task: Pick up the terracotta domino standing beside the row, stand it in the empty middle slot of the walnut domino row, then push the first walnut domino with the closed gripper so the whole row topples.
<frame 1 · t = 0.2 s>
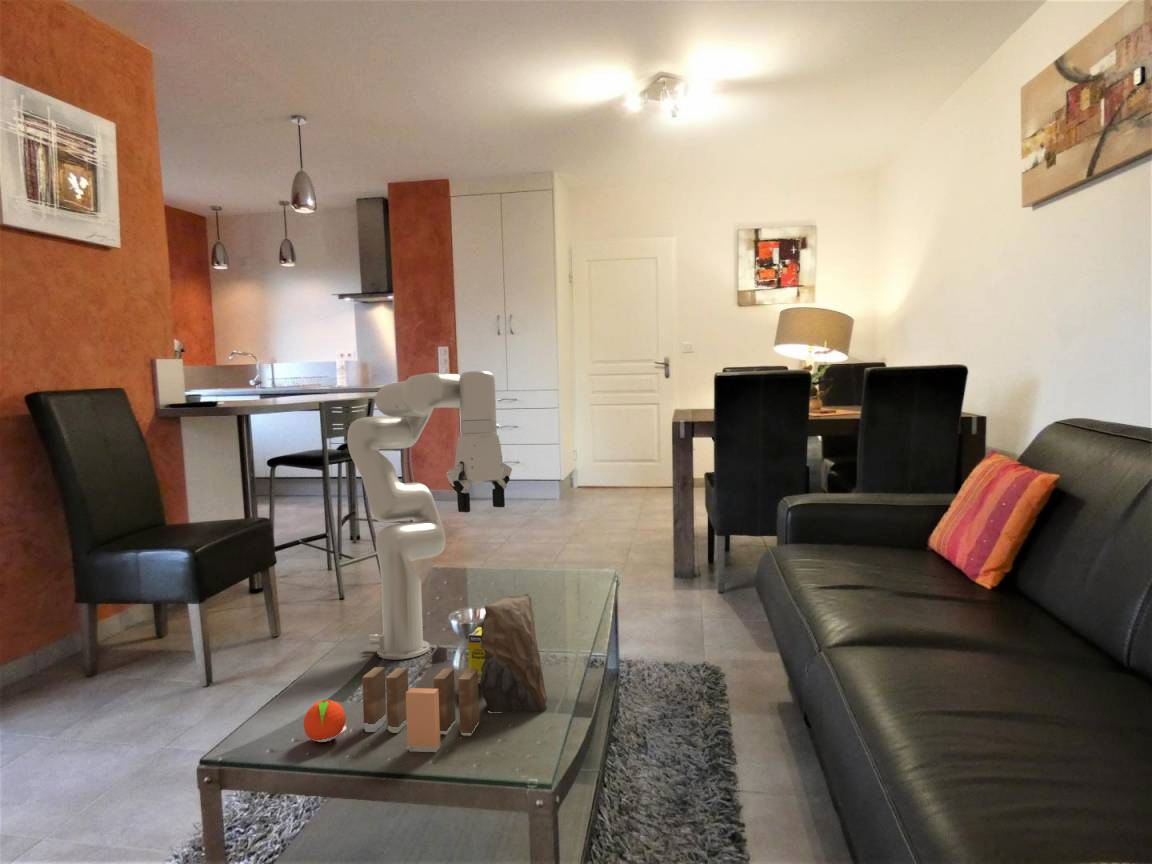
hand: (481, 509, 141), 37 cm above the table, tool pointing down, fingers open, 9 cm apart
domino 1: (375, 726, 122), on the table
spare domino: (424, 749, 112), on the table
domino 2: (398, 727, 121), on the table
domino 5: (470, 729, 119), on the table
supplement box: (487, 683, 142), on the table
brown rough lump: (518, 704, 130), on the table
clementine: (325, 743, 116), on the table
domino 4: (446, 728, 120), on the table
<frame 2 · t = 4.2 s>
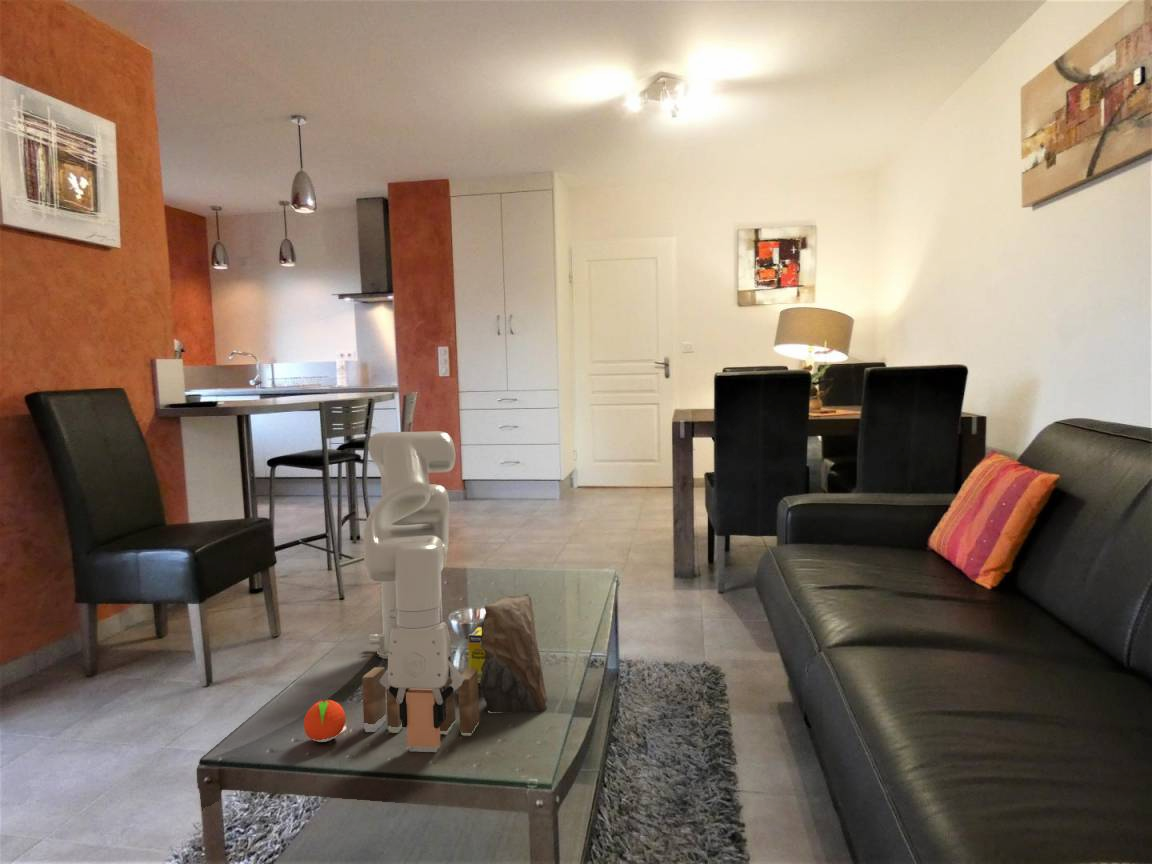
hand: (423, 723, 112), 4 cm above the table, tool pointing down, fingers closed on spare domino, 4 cm apart
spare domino: (424, 749, 112), on the table, touching gripper
everything else where it was.
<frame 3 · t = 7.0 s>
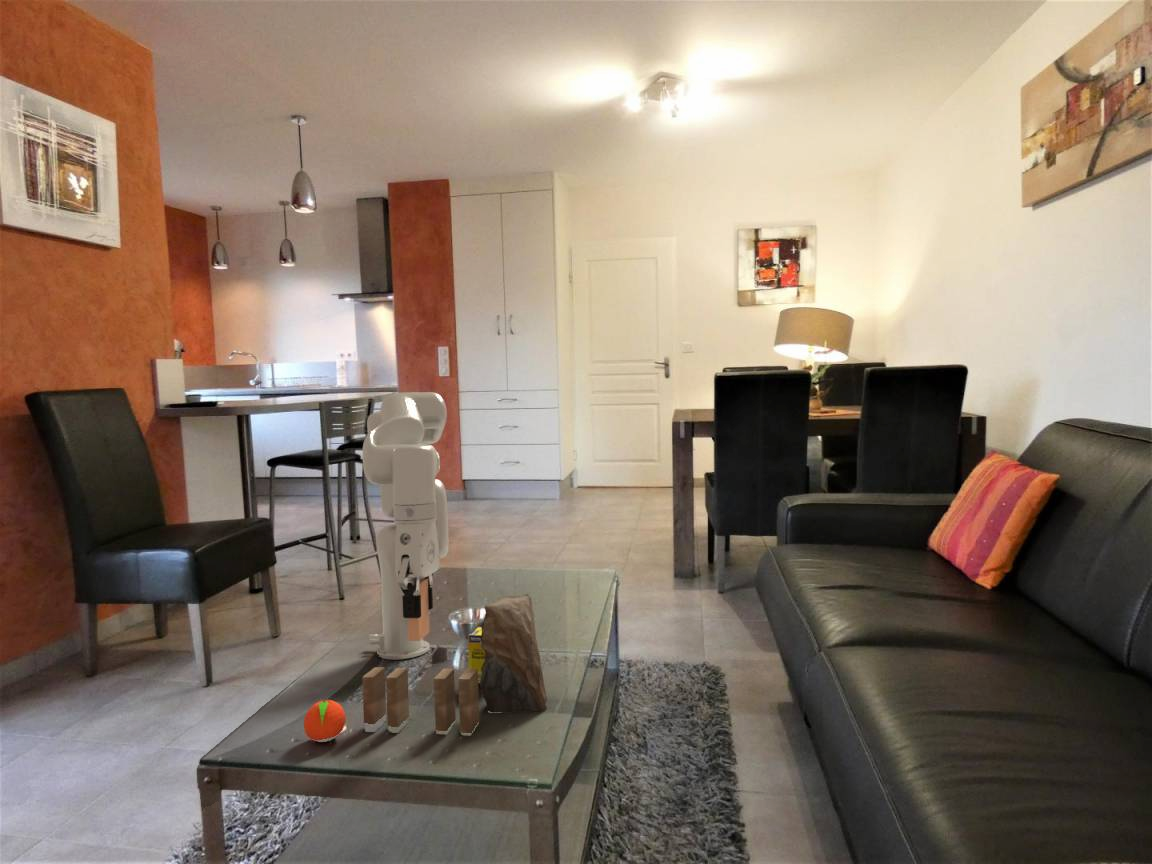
hand: (418, 612, 120), 21 cm above the table, tool pointing down, fingers closed on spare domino, 4 cm apart
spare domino: (419, 636, 120), point 17 cm above the table, touching gripper
everything else where it was.
when the fingers open (5 cm above the table, at t = 10.2 s): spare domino stays where it is, on the table.
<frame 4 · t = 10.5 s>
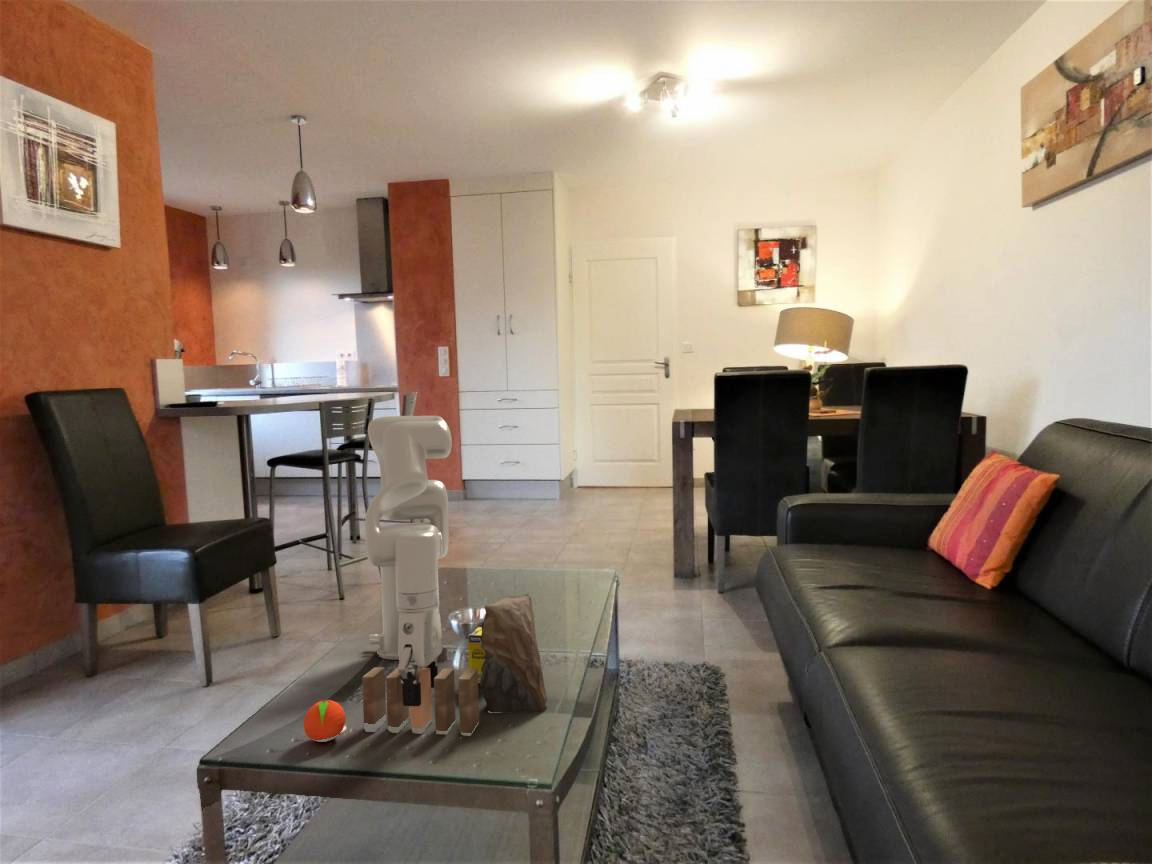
hand: (421, 695, 120), 6 cm above the table, tool pointing down, fingers open, 7 cm apart
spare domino: (422, 727, 121), on the table
everything else where it was.
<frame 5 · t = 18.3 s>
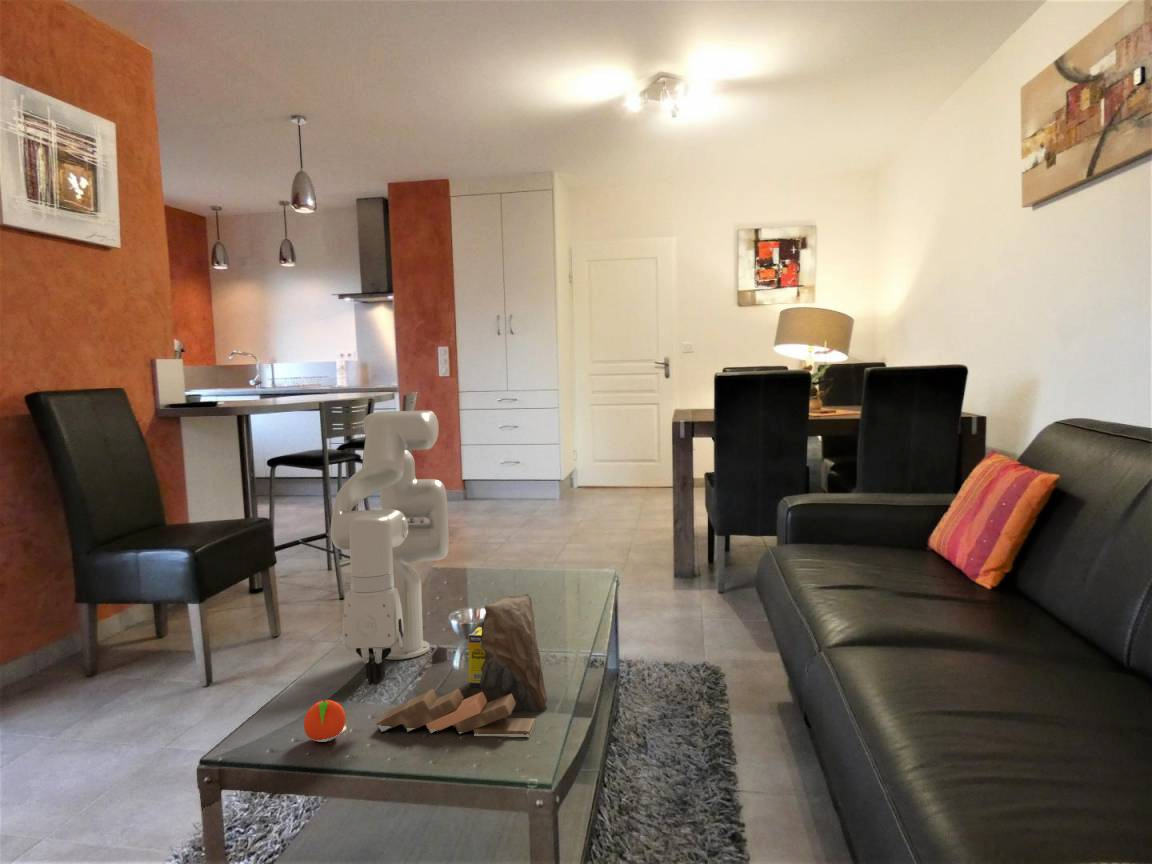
hand: (376, 682, 122), 8 cm above the table, tool pointing down, fingers closed
domino 1: (384, 722, 121), point 1 cm above the table, tilted 64°, touching domino 2
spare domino: (432, 723, 120), point 1 cm above the table, tilted 67°, touching domino 2, domino 4
domino 2: (410, 721, 121), point 1 cm above the table, tilted 64°, touching domino 1, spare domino
domino 5: (477, 728, 119), on the table, tilted 90°, touching domino 4
domino 4: (460, 723, 120), point 1 cm above the table, tilted 69°, touching domino 5, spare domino
everything else where it was.
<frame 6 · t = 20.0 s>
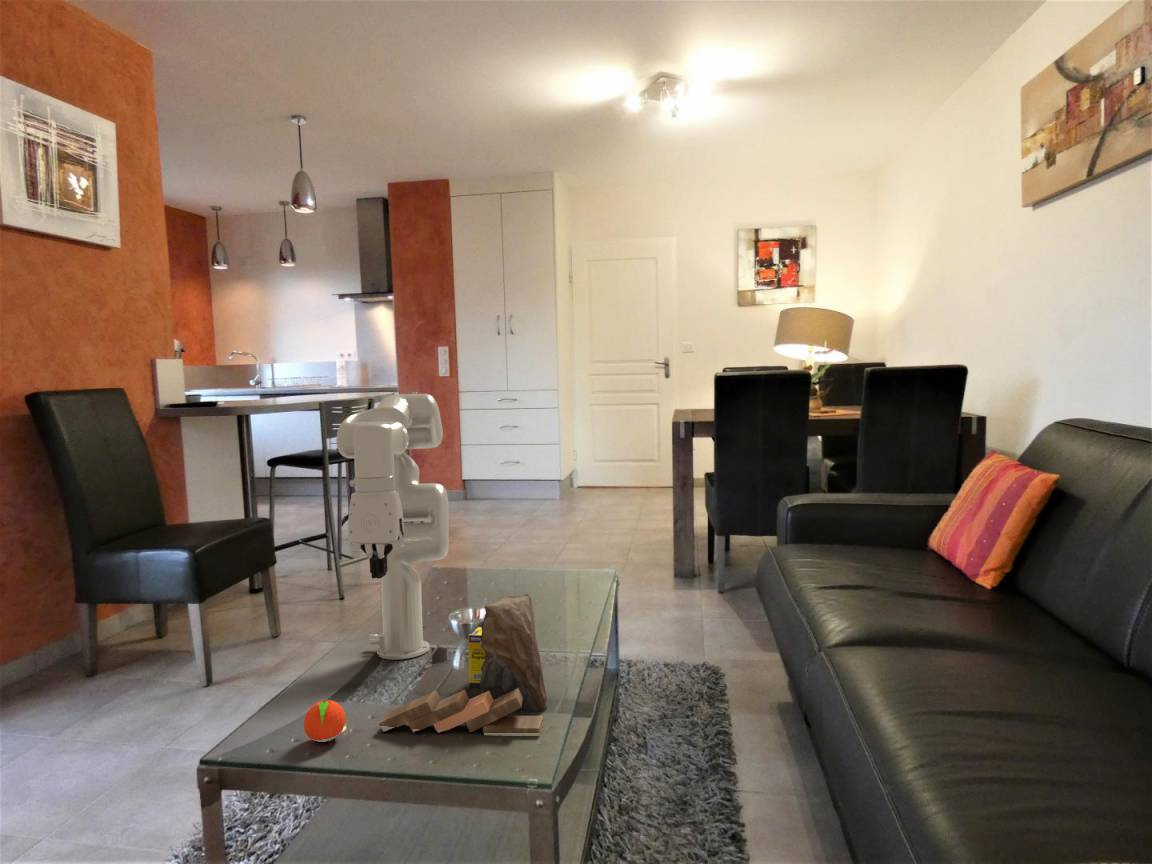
hand: (379, 576, 132), 25 cm above the table, tool pointing down, fingers closed
domino 1: (386, 722, 121), point 1 cm above the table, tilted 66°
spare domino: (439, 723, 120), point 1 cm above the table, tilted 66°, touching domino 4
domino 2: (414, 722, 120), point 1 cm above the table, tilted 66°
domino 5: (486, 727, 119), on the table, tilted 90°, touching domino 4
domino 4: (469, 722, 119), point 1 cm above the table, tilted 67°, touching domino 5, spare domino
everything else where it was.
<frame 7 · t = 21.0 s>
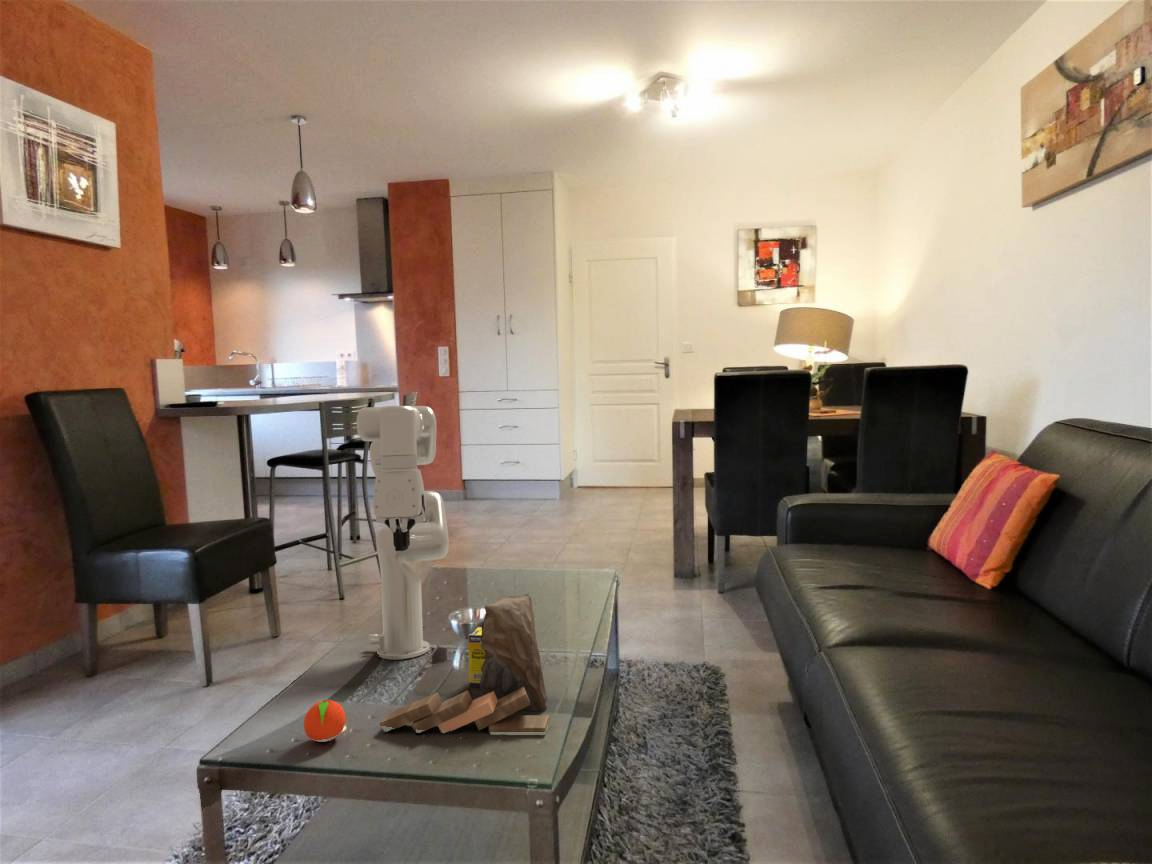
hand: (401, 549, 141), 29 cm above the table, tool pointing down, fingers closed
domino 1: (387, 722, 121), point 1 cm above the table, tilted 68°, touching domino 2
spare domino: (443, 723, 120), point 1 cm above the table, tilted 67°, touching domino 2, domino 4
domino 2: (418, 723, 120), point 1 cm above the table, tilted 66°, touching domino 1, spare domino
domino 5: (492, 726, 119), on the table, tilted 90°, touching domino 4
domino 4: (476, 720, 120), point 1 cm above the table, tilted 69°, touching domino 5, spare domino
everything else where it was.
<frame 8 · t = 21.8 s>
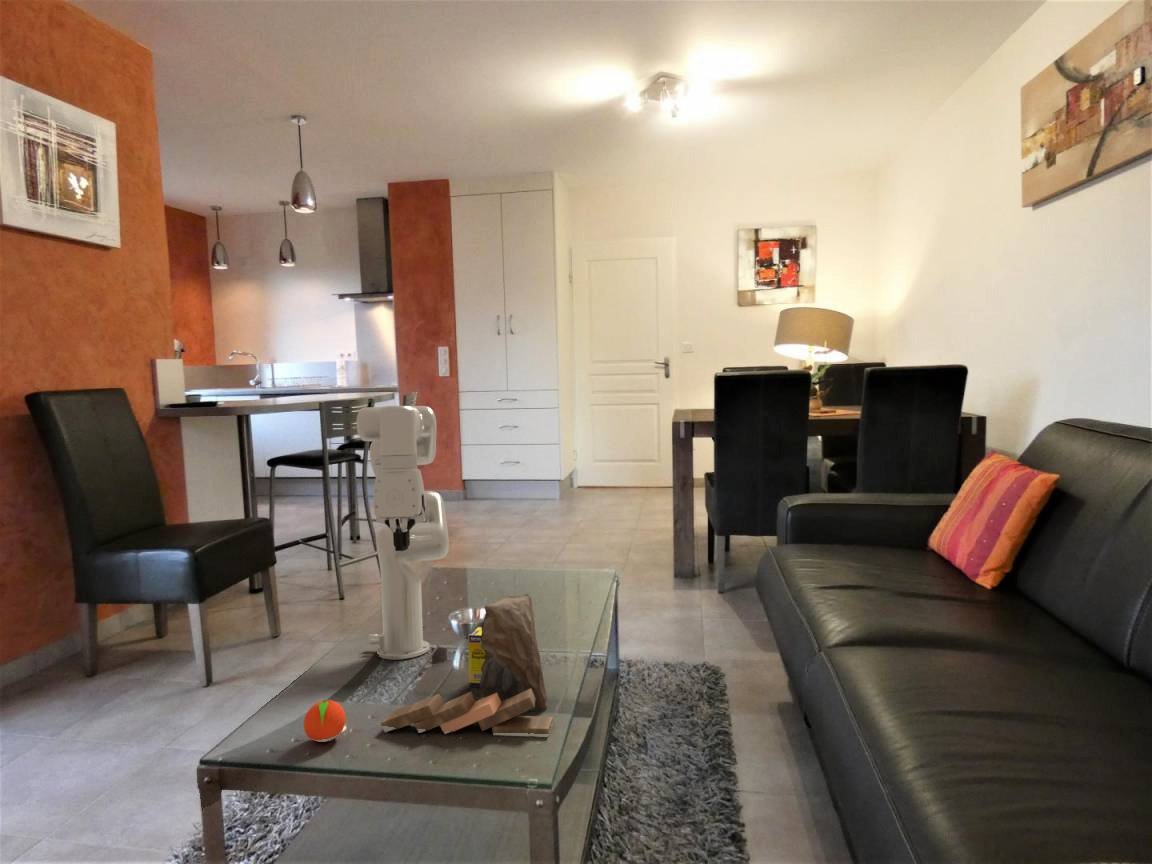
hand: (401, 549, 141), 29 cm above the table, tool pointing down, fingers closed
domino 5: (496, 726, 119), on the table, tilted 90°
domino 4: (481, 720, 119), point 1 cm above the table, tilted 69°, touching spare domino
at the end: domino 5 tilted 90°; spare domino tilted 67°; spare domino inside the target area (2.8 cm from its centre), point 0.9 cm above the table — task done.
